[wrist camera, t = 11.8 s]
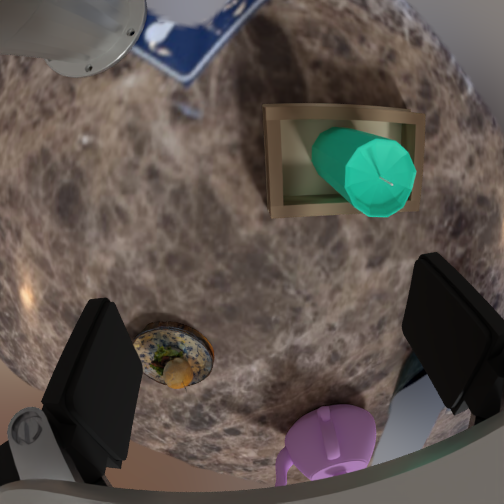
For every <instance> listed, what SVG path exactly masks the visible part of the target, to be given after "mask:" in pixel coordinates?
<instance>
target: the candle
mask: <svg viewBox="0 0 504 504" xmlns="http://www.w3.org/2000/svg"><path fill="white" fill-rule="evenodd" d="M311 161H312V163H313V165H314V167H315V169H316V171H317V173H318V175H320V176H321V177H322V178H323V179H324V180H325V181H326V182H327V183H329V184H330V185H331V186H332V187H333V188H334V189H335V190H336V191H337V192H338V193H340V194H341V195H342V196H343V197H344V198H345V199H346V200H347V201H348V202H349V203H350V204H351V205H352V206H353V207H355V208H356V209H358V210H359V211H361V212H362V213H364V214H366V215H367V216H369V217H389V216H390V215H392V214H394V213H395V212H397V211H399V210H400V209H402V208H403V207H404V205H405V203H406V201H407V199H408V197H409V195H410V193H411V191H412V188H413V184H414V180H415V176H416V172H417V171H416V169H415V166H414V164H413V162H412V159H411V157H410V155H409V153H408V151H406V150H405V149H404V148H403V147H402V146H401V145H400V144H399V143H398V142H397V141H395V140H392V139H388V138H385V137H381V136H378V135H374V134H370V133H366V132H363V131H359V130H355V129H351V128H344V127H331V128H330V129H328V130H326V131H324V132H322V133H320V134H319V136H318V137H317V139H316V141H315V142H314V144H313V145H312V159H311Z"/></svg>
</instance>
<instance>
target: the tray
mask: <svg viewBox="0 0 504 504" xmlns="http://www.w3.org/2000/svg"><path fill="white" fill-rule="evenodd" d="M262 112H263V129H264V148H265V167H266V187H267V209H268V211H269V213H270V216H271V219H273V218H288V217H304V216H322V215H340V214H360V213H362V212H361V211H359V210H358V209H356V208H355V207H353V206H352V205H351V204H350V203H349V202H348V201H347V200H346V199H345V198H344V197H343V196H342V195H341V194H340V193H338V192H337V191H336V190H335V189H334V188H333V187H332V186H331V185H330V184H329V183H327V182H326V181H325V180H324V179H323V178H322V177H321V176H320V175H318V173H317V171H316V169H315V167H314V165H313V163H312V161H311V159H312V145H313V144H314V142H315V141H316V139H317V137H318V136H319V134H320V133H322V132H324V131H326V130H328V129H330V128H331V127H344V128H351V129H355V130H359V131H363V132H366V133H370V134H374V135H378V136H381V137H385V138H388V139H392V140H395V141H397V142H398V143H399V144H400V145H401V146H402V147H403V148H404V149H405V150H406V151H408V153H409V155H410V157H411V159H412V162H413V164H414V166H415V169H416V171H417V172H416V176H415V180H414V184H413V188H412V191H411V193H410V195H409V197H408V199H407V201H406V203H405V205H404V207H403V208H402V209H400V210H399V211H397V212H411V211H419V206H420V197H421V187H422V176H423V163H424V146H425V114H421V113H413V112H411V109H402V108H392V107H382V106H369V105H353V104H326V103H283V104H262Z"/></svg>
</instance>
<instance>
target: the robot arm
mask: <svg viewBox="0 0 504 504" xmlns="http://www.w3.org/2000/svg"><path fill="white" fill-rule="evenodd" d="M146 16H147V3H146V0H0V54H4V55H16V56H26V57H35V58H43V59H44V60H45V61H46V63H47V65H48V66H49V67H50V68H51V69H52V70H53V71H55V72H57V73H58V74H60V75H64V76H67V77H75V78H79V77H88V76H93V75H96V74H99V73H101V72H103V71H106V70H107V69H109V68H110V67H112V66H114V65H115V64H116V63H118V62H119V61H120V60H121V59H122V58H124V57H125V55H126V54H127V53H128V52H129V51H130V50H131V49H132V47H133V46H134V45H135V43H136V42H137V40H138V39H139V37H140V34H141V32H142V30H143V28H144V24H145V21H146ZM132 32H135V33H134V34H133V35H132V36H131V34H132ZM91 67H93V68H92V70H91ZM402 331H403V334H404V336H405V337H406V339H407V341H408V342H409V344H410V346H411V347H412V349H413V351H414V352H415V354H416V356H417V357H418V359H419V361H420V362H421V364H422V366H423V367H424V369H425V371H426V373H427V374H428V376H429V378H430V380H431V381H432V383H433V385H434V387H435V388H436V390H437V392H438V394H439V396H440V398H441V399H442V401H443V403H444V405H445V406H446V407H447V408H449V409H451V411H452V413H453V415H457V414H459V413H461V412H463V411H465V410H467V409H468V407H469V409H470V411H471V416H470V421H469V426H468V429H466V430H464V431H462V432H460V433H458V434H456V435H454V436H452V437H449V438H447V439H445V440H443V441H440V442H438V443H436V444H433V445H431V446H428V447H426V448H423V449H421V450H419V451H416V452H413V453H410V454H408V455H405V456H402V457H399V458H396V459H393V460H390V461H387V462H384V463H381V464H378V465H374V466H371V467H368V468H364V469H361V470H357V471H353V472H349V473H345V474H341V475H337V476H333V477H328V478H323V479H319V480H314V481H308V482H303V483H297V484H291V485H284V486H277V487H270V488H261V489H251V490H239V491H224V492H162V491H147V490H134V489H123V488H114V487H112V485H111V484H110V482H109V481H108V479H107V478H106V476H105V470H106V467H109V468H119V469H121V465H122V460H126V458H127V454H128V448H129V442H130V436H131V430H132V424H133V419H134V413H135V408H136V403H137V398H138V393H139V388H140V383H141V378H142V374H143V365H142V362H141V360H140V358H139V356H138V353H137V351H136V349H135V347H134V345H133V343H132V341H131V339H130V337H129V334H128V332H127V330H126V328H125V325H124V323H123V321H122V319H121V316H120V314H119V312H118V309H117V307H116V305H115V303H114V302H110V300H109V299H108V298H98V299H90V300H89V301H88V303H87V304H86V306H85V308H84V310H83V312H82V314H81V316H80V318H79V320H78V322H77V324H76V326H75V328H74V330H73V332H72V334H71V336H70V338H69V340H68V342H67V344H66V346H65V348H64V350H63V352H62V355H61V357H60V359H59V361H58V363H57V366H56V368H55V370H54V372H53V375H52V377H51V379H50V381H49V384H48V386H47V389H46V391H45V393H44V396H43V398H42V401H41V402H42V404H43V408H42V410H40V409H39V408H36V407H27V408H24V409H22V410H20V411H19V412H18V413H16V414H15V415H14V417H13V418H12V419H11V421H10V423H9V425H8V431H7V434H8V441H6V442H5V443H3V444H2V445H0V504H504V320H503V318H502V317H501V316H500V315H499V314H498V313H497V312H496V311H495V310H494V308H493V307H492V306H491V305H490V304H489V303H488V302H487V301H486V300H485V299H484V298H483V297H482V296H481V295H480V294H479V293H478V291H477V290H476V289H475V288H474V287H473V286H472V285H471V284H470V283H469V282H468V281H467V280H466V279H465V278H464V277H463V276H462V275H461V274H460V273H459V272H458V271H457V270H456V269H455V268H454V267H453V266H451V265H450V264H449V263H448V262H447V261H446V260H445V259H444V258H443V257H442V256H441V255H440V254H439V253H437V252H433V253H427V254H422V255H420V256H419V258H418V260H416V262H415V264H414V269H413V275H412V280H411V285H410V290H409V295H408V300H407V305H406V309H405V314H404V318H403V322H402Z"/></svg>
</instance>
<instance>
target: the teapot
mask: <svg viewBox="0 0 504 504" xmlns="http://www.w3.org/2000/svg"><path fill="white" fill-rule="evenodd" d="M375 441H376V426H375V421H374V418H373V416H372V415H371V414H370V413H369V412H368V411H367V410H365V409H362V408H360V407H357V406H354V405H350V404H337V405H330V406H322V407H320V408H319V409H316V410H314V411H311V412H309V413H307V414H306V415H304V416H302V417H301V418H300V419H298V420H297V421H296V422H295V424H294V425H293V426H292V427H291V428H290V430H289V431H288V433H287V434H286V437H285V447H284V448H283V449H282V450H281V451H280V452H279V454H278V456H277V459H276V484H275V487H277V486H284V485H286V484H287V471H288V469H289V468H290V467H291V466H292V465H293V464H294V465H295V466H296V467H297V468H298V469H299V470H300V471H301V472H302V473H303V474H304V475H305V476H306V477H307V478H309V479H310V480H311V481H314V480H319V479H323V478H328V477H333V476H337V475H341V474H345V473H349V472H353V471H357V470H361V469H364V468H366V467H367V465H368V463H369V461H370V459H371V456H372V453H373V450H374V446H375Z"/></svg>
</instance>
